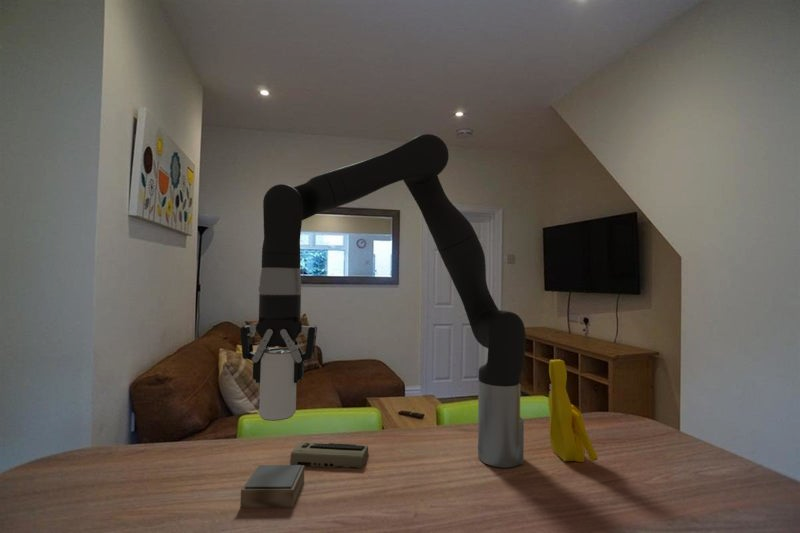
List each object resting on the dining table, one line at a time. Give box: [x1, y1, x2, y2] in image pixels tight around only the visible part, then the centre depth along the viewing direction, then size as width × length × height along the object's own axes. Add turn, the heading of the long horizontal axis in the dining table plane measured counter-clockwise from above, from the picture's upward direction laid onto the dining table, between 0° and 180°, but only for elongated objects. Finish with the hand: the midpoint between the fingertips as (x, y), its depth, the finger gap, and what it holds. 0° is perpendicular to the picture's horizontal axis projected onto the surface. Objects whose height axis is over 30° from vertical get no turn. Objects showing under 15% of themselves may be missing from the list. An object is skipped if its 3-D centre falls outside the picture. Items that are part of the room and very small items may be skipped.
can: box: [258, 347, 297, 422], centre depth 72 cm, size 6×6×12 cm
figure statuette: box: [547, 358, 599, 463], centre depth 88 cm, size 18×8×22 cm, turn 4°
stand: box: [239, 464, 306, 509], centre depth 71 cm, size 9×9×3 cm
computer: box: [289, 441, 369, 470], centre depth 85 cm, size 16×8×3 cm, turn 86°
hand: (278, 381), depth 72 cm, fingers closed on can, 6 cm apart
